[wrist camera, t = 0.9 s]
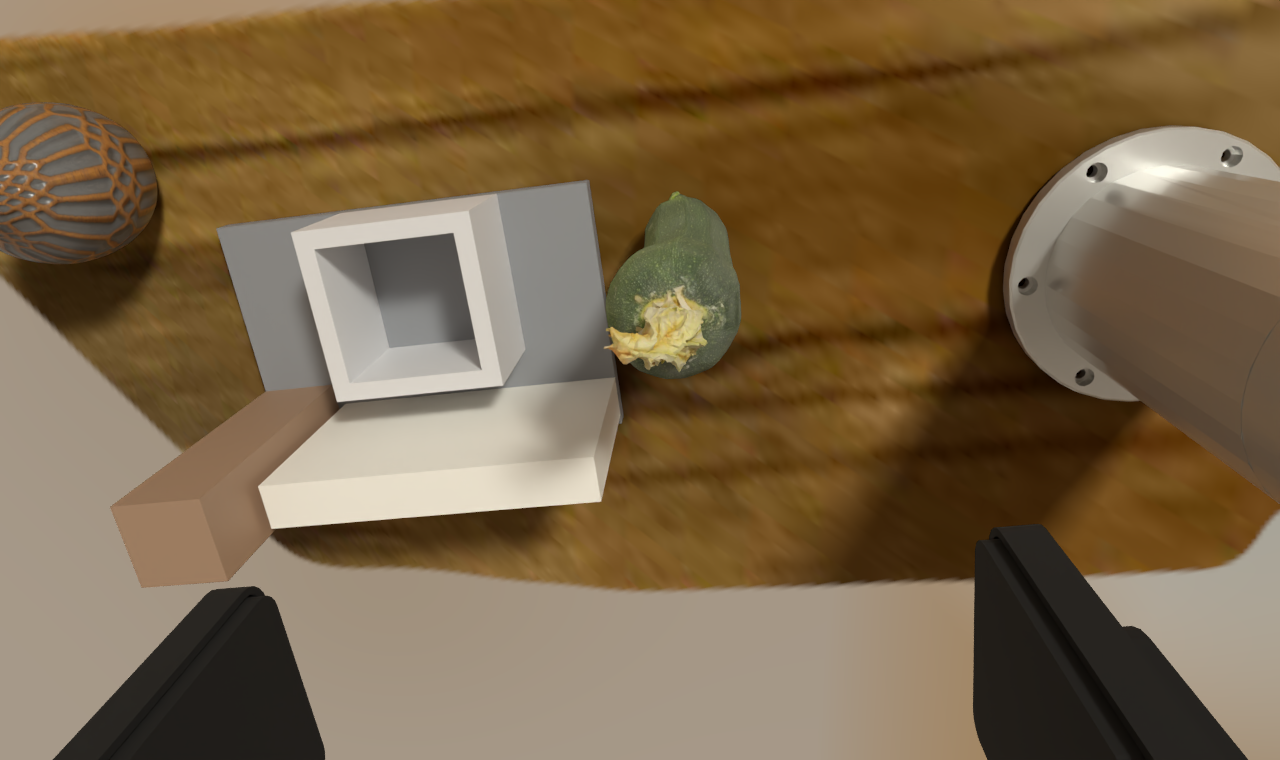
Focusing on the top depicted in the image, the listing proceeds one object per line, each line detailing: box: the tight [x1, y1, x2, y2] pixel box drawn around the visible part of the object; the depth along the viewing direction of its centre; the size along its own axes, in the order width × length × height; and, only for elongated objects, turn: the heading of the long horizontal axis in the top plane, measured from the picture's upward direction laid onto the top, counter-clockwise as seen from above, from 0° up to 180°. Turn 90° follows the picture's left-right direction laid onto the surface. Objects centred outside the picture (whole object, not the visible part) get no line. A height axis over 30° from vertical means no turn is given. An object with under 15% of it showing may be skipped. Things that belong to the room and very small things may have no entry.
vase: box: [0, 103, 157, 264], centre depth 36 cm, size 7×7×9 cm
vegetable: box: [604, 192, 741, 379], centre depth 30 cm, size 4×4×20 cm
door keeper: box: [110, 180, 623, 588], centre depth 35 cm, size 18×12×13 cm, turn 97°
